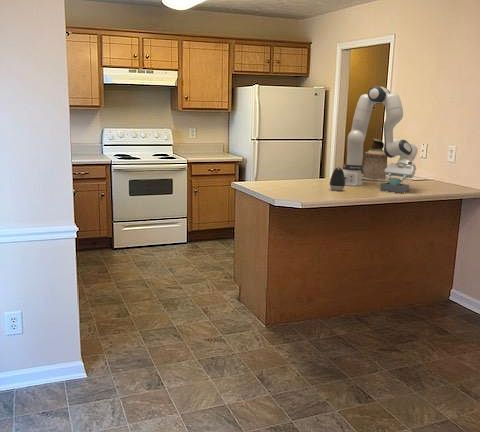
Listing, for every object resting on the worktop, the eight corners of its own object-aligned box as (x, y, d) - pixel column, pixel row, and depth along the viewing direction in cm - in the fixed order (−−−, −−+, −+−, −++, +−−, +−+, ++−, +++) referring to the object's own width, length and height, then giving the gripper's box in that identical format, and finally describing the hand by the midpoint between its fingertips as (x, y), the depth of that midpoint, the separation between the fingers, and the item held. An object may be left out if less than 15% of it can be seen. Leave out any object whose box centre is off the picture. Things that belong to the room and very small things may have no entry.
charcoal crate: (399, 193, 341) (400, 186, 340) (380, 190, 351) (380, 183, 350) (408, 192, 349) (409, 185, 348) (388, 189, 359) (389, 182, 358)
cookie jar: (391, 182, 396) (395, 139, 390) (358, 180, 401) (362, 138, 394) (388, 178, 420) (392, 138, 414) (357, 176, 425) (361, 136, 418)
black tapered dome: (332, 191, 339) (334, 168, 336) (326, 188, 349) (328, 166, 346) (347, 191, 341) (349, 168, 338) (341, 189, 351) (343, 166, 348)
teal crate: (395, 191, 346) (396, 179, 344) (388, 190, 350) (390, 178, 348) (399, 190, 350) (400, 178, 348) (392, 189, 353) (394, 177, 352)
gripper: (388, 160, 358) (379, 175, 353) (416, 163, 344) (407, 179, 339) (390, 166, 362) (382, 181, 357) (418, 169, 348) (410, 185, 343)
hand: (394, 180), depth 348 cm, fingers open, 7 cm apart
